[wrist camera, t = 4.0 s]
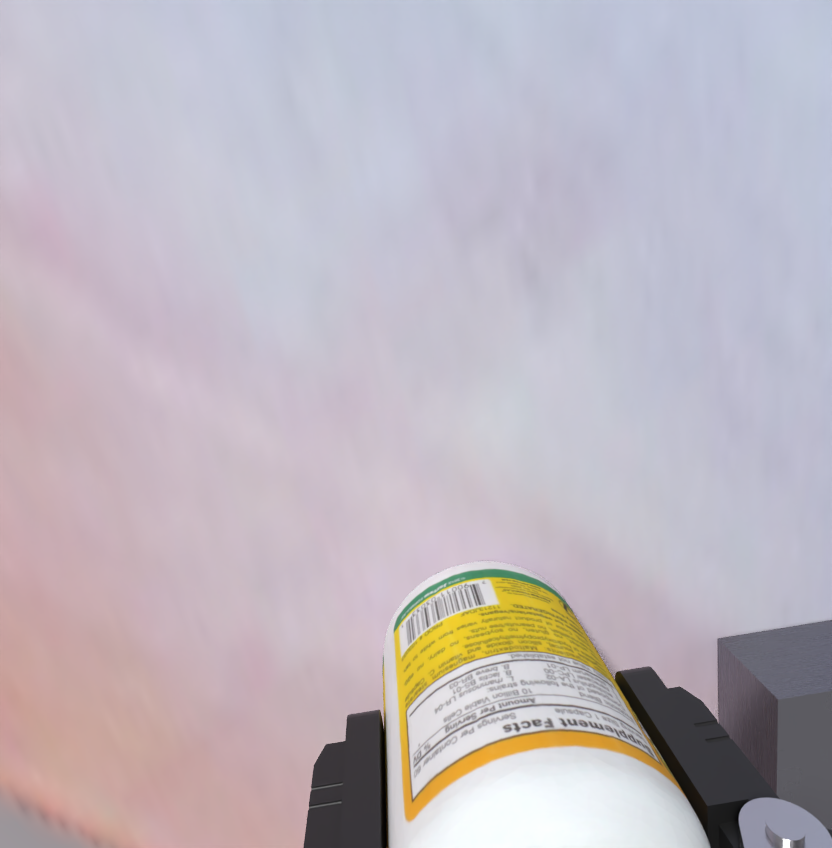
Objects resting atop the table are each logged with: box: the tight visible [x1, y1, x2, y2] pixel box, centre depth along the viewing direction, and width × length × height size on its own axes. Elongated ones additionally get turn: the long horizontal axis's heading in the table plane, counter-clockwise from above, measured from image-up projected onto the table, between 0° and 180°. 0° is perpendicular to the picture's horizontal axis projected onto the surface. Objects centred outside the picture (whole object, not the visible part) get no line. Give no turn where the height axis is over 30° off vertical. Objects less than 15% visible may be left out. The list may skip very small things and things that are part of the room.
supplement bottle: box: [383, 561, 711, 848], centre depth 11 cm, size 5×5×10 cm
